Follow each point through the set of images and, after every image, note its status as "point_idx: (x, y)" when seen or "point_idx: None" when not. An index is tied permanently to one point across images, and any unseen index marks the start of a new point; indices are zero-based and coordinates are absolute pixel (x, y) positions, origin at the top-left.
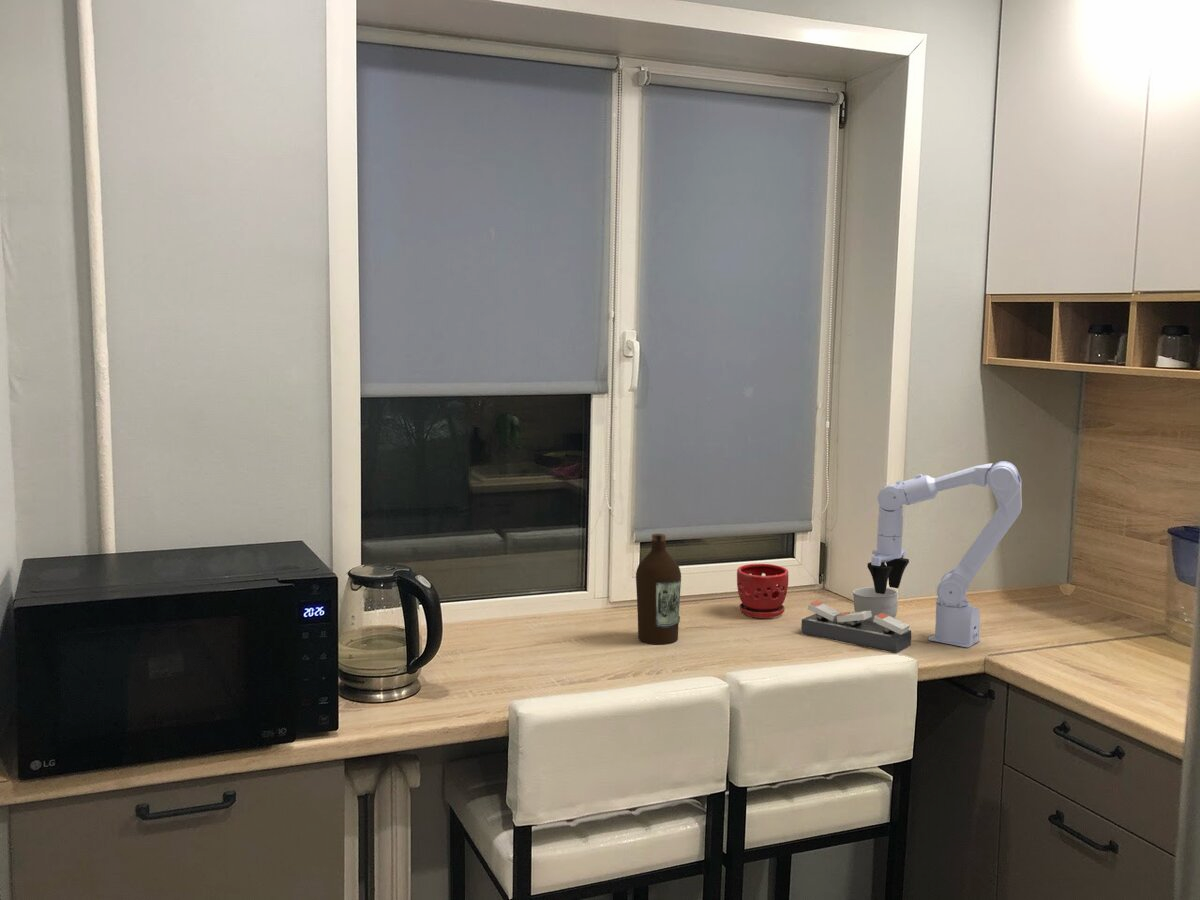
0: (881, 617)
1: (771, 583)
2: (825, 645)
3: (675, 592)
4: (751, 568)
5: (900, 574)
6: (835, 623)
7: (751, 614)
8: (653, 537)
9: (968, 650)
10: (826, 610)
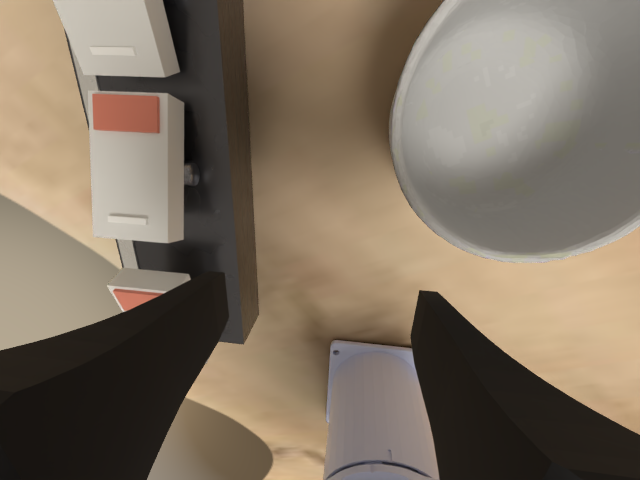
0: (123, 306)
1: None
2: (61, 107)
3: None
4: None
5: (433, 440)
6: (113, 88)
7: None
8: None
9: (313, 420)
10: (77, 3)
